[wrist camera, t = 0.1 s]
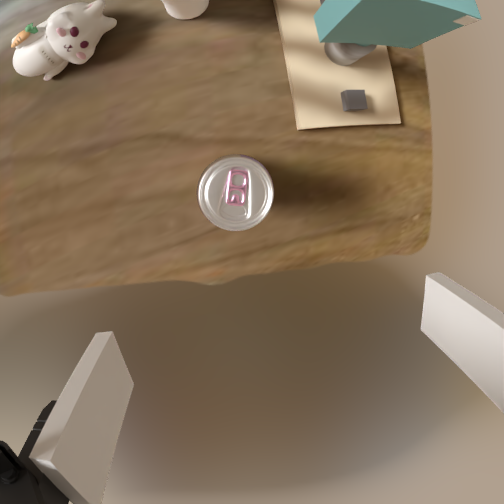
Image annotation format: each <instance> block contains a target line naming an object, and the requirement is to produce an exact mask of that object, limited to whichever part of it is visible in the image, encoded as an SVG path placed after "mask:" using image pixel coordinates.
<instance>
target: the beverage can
mask: <svg viewBox="0 0 504 504" xmlns="http://www.w3.org/2000/svg"><path fill="white" fill-rule="evenodd" d="M273 198H274V186H273V181H272V178H271V176H270V174H269V172H268V171H267V169H266V168H265V167H264V166H263V165H262V164H261V163H260V162H258V161H257V160H255V159H253V158H251V157H249V156H246V155H241V154H231V155H226V156H223V157H220V158H218V159H216V160H215V161H213V162H212V163H210V164H209V165H208V166H207V167H206V169H205V170H204V171H203V173H202V174H201V176H200V179H199V182H198V186H197V200H198V204H199V207H200V209H201V211H202V213H203V214H204V215H205V217H206V218H207V219H208V220H209V221H210V222H211V223H213V224H214V225H216V226H218V227H220V228H222V229H225V230H229V231H242V230H247V229H250V228H252V227H254V226H256V225H257V224H259V223H260V222H261V221H262V220H263V219H264V218H265V217H266V216H267V214H268V213H269V211H270V209H271V206H272V203H273Z"/></svg>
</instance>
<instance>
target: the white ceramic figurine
mask: <svg viewBox="0 0 504 504" xmlns="http://www.w3.org/2000/svg"><path fill="white" fill-rule="evenodd" d="M104 8H105V1H104V0H97V1H95V2H92V3H84V2H79V3H73V4H70V5H67V6H65V7H62V8H60V9H58V10H57V11H55V12H54V13H52V14H51V16H50V17H49V18H48V20H46V21H44V22H43V23H41V24H39V25H38V26H35V27H32V26H33V23H31V24H29V25H27V26H26V29H25V30H23V31H21V32H20V33H19V34H18V35H16V36H15V37H14V38H13V39H12V45H11V47H12V48H13V47H16V51H15V53H14V56H13V66H14V68H15V70H16V71H17V72H18V73H19V74H21V75H23V76H38V75H41V74H44V73H45V76H44V80H46V81H47V80H50V79H51V78H52V77H53V76H55V75H57V74H58V73H60V72H61V71H62V70H63V69H64V68H65V67H66V66H67V65H68V63H69V62H71V63H74V64H84V63H85V62H86V61H88V59H89V58H90V57H91V56H92V55H93V54H94V51H95V47H96V45H97V43H98V42H99V40H100V38H101V36H102V35H103V34H104V33H105V32H107V31H109V30H111V29H112V28H114V27H115V26H116V24H117V21H116V20H115V19H114V18H110V17H106V16H104V15H103V14H102V13H103V10H104Z"/></svg>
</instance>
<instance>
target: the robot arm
mask: <svg viewBox="0 0 504 504" xmlns="http://www.w3.org/2000/svg"><path fill="white" fill-rule="evenodd" d="M421 330H422V331H423V332H424V333H425V334H426V335H427V336H428V337H429V338H430V339H431V340H432V341H433V342H434V343H435V344H436V345H437V346H438V347H439V348H440V349H441V350H442V351H443V352H444V353H445V354H446V355H447V356H448V357H449V358H451V360H452V361H453V362H455V363H456V365H458V367H459V368H461V370H462V371H463V372H464V373H465V374H466V375H467V376H468V377H469V378H471V380H472V381H473V382H474V383H475V384H476V385H477V386H478V387H479V388H480V389H481V390H482V391H483V392H484V393H485V394H486V395H487V396H488V397H489V398H490V400H491V401H492V402H493V403H494V404H495V405H496V406H497V407H498V408H499V409H500V410H501V411H502V412H503V414H504V313H503V312H501V311H500V310H498V309H497V308H495V307H494V306H492V305H491V304H489V303H488V302H486V301H484V300H483V299H482V298H480V297H478V296H477V295H475V294H474V293H472V292H471V291H469V290H467V289H466V288H464V287H463V286H461V285H459V284H458V283H456V282H455V281H453V280H452V279H450V278H448V277H447V276H445V275H443V274H442V273H440V272H437V273H433V274H429V275H426V283H425V295H424V305H423V315H422V323H421ZM133 386H134V383H133V381H132V378H131V376H130V374H129V372H128V369H127V367H126V364H125V362H124V359H123V357H122V354H121V352H120V350H119V347H118V344H117V342H116V339H115V337H114V334H113V332H112V331H111V332H101V333H96V334H95V336H94V338H93V339H92V341H91V343H90V344H89V346H88V348H87V349H86V351H85V353H84V354H83V356H82V358H81V359H80V361H79V363H78V364H77V366H76V368H75V370H74V372H73V373H72V375H71V377H70V378H69V380H68V382H67V384H66V386H65V387H64V389H63V391H62V393H61V395H60V397H59V398H58V400H57V401H51V402H50V403H49V404H48V405H47V406H46V407H45V408H44V409H43V410H42V412H41V414H40V416H39V418H38V419H37V422H36V423H35V425H34V427H33V430H32V431H31V432H30V435H29V436H28V438H27V440H26V442H25V444H24V446H23V448H22V450H21V452H20V454H19V456H18V457H17V456H16V454H15V453H14V452H13V451H12V449H11V448H10V447H9V446H8V444H7V443H5V442H3V441H0V504H68V502H69V500H70V501H71V502H72V503H73V504H101V503H102V499H103V495H104V491H105V486H106V482H107V478H108V474H109V470H110V466H111V462H112V459H113V455H114V451H115V447H116V444H117V440H118V436H119V433H120V429H121V426H122V422H123V419H124V416H125V412H126V408H127V405H128V402H129V399H130V396H131V392H132V389H133Z"/></svg>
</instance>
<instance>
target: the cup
mask: <svg viewBox="0 0 504 504" xmlns="http://www.w3.org/2000/svg"><path fill="white" fill-rule="evenodd" d="M161 1H162V2H163V3H164V5H165V8H166V10H167V12H168V13H169V14H170V15H171V16H172V17H174V18H177V19H192V18H195V17H197V16H199V15H200V14H202V13H203V12H204V11H205V10H206V8H207V7H208V4H209V0H161Z"/></svg>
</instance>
